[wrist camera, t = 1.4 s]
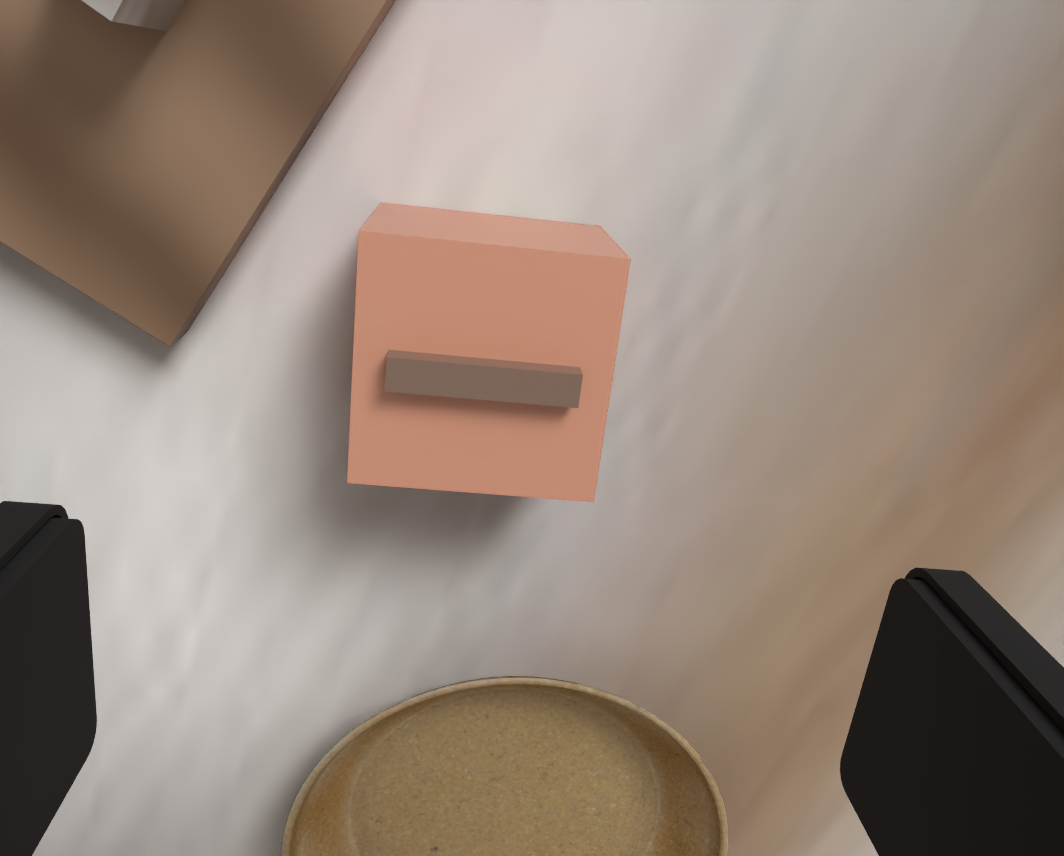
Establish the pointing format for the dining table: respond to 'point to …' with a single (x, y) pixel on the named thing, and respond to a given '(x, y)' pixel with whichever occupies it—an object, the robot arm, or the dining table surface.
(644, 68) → the dining table surface
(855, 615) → the dining table surface
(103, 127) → the base
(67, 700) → the robot arm
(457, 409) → the salmon pink cube
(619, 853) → the plant saucer
